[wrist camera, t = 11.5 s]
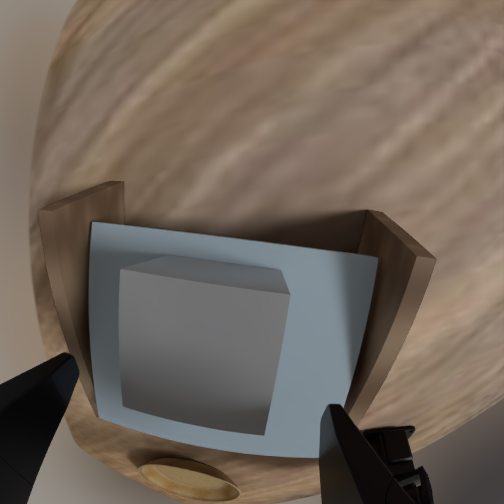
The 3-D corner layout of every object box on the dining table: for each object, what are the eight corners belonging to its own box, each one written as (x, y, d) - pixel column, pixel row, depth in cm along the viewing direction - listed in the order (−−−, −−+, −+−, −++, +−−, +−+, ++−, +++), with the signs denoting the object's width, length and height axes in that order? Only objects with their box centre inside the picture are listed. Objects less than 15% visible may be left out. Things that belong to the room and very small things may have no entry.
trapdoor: (314, 413, 19) (325, 457, 14) (128, 383, 19) (98, 417, 14) (349, 250, 18) (378, 257, 13) (132, 223, 18) (92, 221, 13)
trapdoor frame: (326, 387, 22) (335, 457, 16) (129, 357, 23) (96, 416, 16) (382, 212, 16) (436, 259, 10) (111, 181, 17) (38, 209, 10)
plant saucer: (254, 466, 29) (252, 483, 27) (232, 495, 35) (230, 507, 33) (140, 437, 29) (133, 452, 27) (145, 473, 35) (141, 485, 32)
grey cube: (265, 371, 13) (264, 435, 8) (164, 354, 13) (122, 406, 8) (281, 269, 13) (290, 294, 8) (171, 254, 13) (120, 268, 8)
